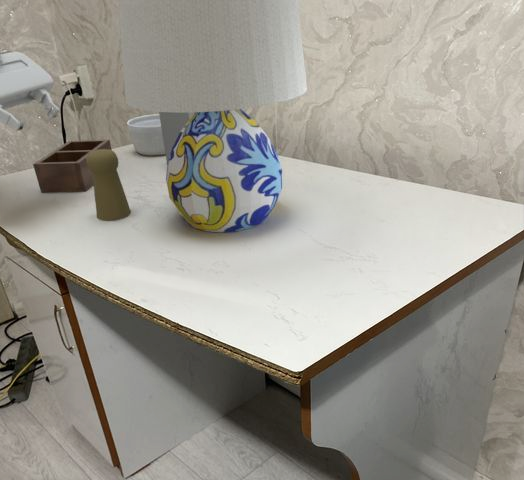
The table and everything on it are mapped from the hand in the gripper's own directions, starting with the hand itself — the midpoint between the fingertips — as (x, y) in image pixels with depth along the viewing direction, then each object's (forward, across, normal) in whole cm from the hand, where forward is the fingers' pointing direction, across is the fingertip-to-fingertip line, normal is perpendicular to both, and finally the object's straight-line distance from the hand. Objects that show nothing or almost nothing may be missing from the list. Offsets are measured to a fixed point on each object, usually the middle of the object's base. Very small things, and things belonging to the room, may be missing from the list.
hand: (39, 121), depth 90 cm
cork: (+19, 0, -4) cm, 19 cm away
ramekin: (+10, -41, -12) cm, 44 cm away
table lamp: (+34, -2, +11) cm, 35 cm away
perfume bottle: (+19, -31, -4) cm, 36 cm away
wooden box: (+5, -18, -17) cm, 25 cm away
